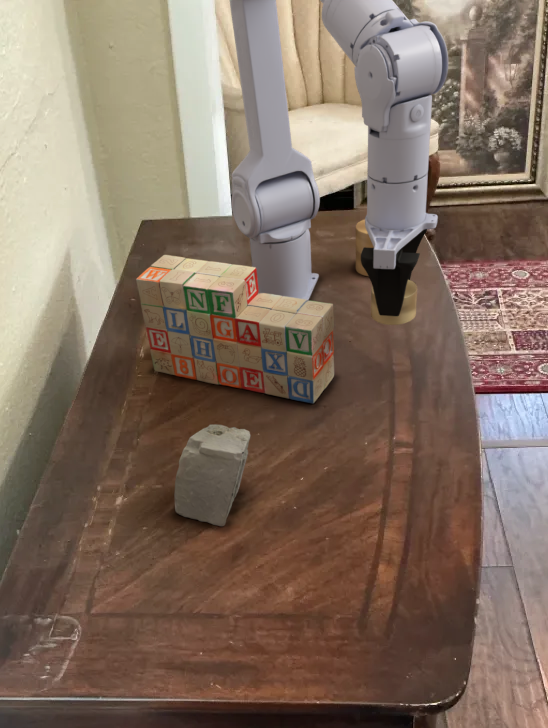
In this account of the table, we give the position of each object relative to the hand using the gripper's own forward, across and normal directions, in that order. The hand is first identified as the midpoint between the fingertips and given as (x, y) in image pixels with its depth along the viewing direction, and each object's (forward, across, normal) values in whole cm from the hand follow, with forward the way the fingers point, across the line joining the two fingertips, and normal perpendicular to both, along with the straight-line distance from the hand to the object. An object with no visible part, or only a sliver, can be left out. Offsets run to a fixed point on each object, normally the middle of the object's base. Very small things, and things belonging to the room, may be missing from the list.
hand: (393, 301), depth 92 cm
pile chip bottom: (+10, +27, +6) cm, 30 cm away
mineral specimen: (+10, -24, +13) cm, 29 cm away
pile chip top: (+7, +27, +6) cm, 29 cm away
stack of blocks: (+10, -1, +17) cm, 20 cm away
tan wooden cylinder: (+1, 0, 0) cm, 1 cm away
